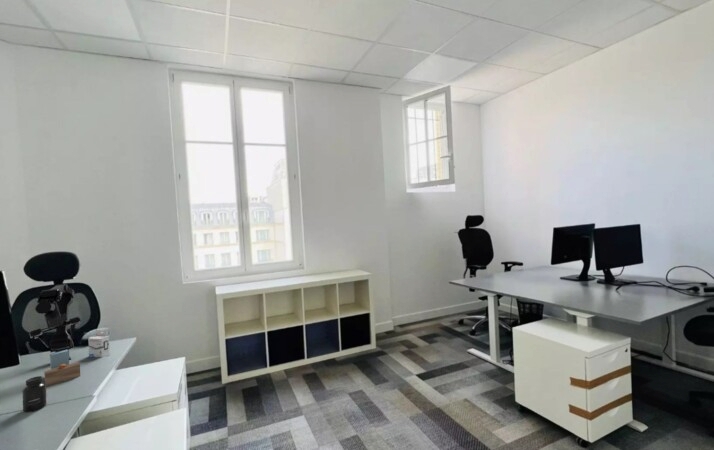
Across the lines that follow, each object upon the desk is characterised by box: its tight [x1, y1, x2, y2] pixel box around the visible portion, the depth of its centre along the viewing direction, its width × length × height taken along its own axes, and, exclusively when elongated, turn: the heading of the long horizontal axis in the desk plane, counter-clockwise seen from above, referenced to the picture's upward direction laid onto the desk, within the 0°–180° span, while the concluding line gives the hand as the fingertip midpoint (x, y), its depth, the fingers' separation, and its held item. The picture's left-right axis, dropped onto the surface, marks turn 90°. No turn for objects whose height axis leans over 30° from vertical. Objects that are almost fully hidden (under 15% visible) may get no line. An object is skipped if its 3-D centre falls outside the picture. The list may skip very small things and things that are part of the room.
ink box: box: [87, 329, 111, 358], centre depth 180 cm, size 8×5×15 cm, turn 84°
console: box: [43, 361, 81, 387], centre depth 155 cm, size 13×12×8 cm
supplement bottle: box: [22, 375, 47, 413], centre depth 130 cm, size 7×7×12 cm
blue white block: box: [49, 350, 70, 369], centre depth 157 cm, size 4×6×11 cm, turn 140°
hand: (60, 343), depth 161 cm, fingers open, 9 cm apart
